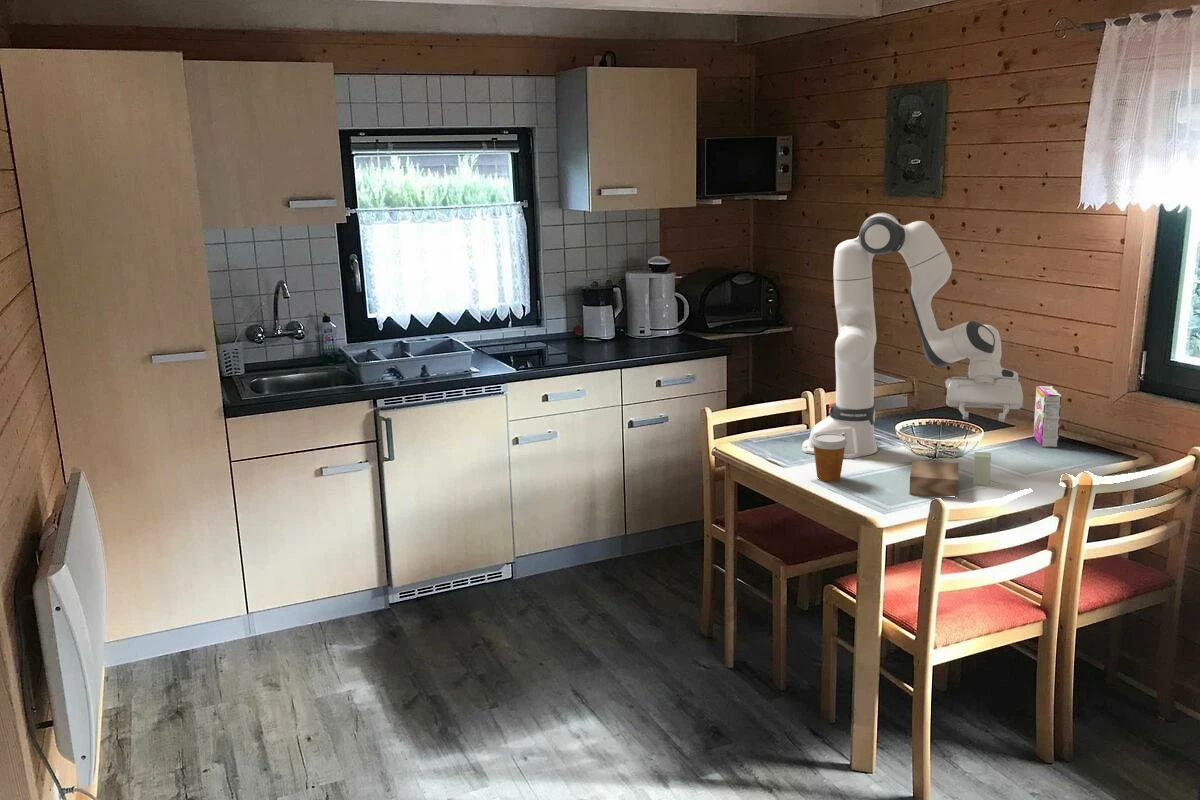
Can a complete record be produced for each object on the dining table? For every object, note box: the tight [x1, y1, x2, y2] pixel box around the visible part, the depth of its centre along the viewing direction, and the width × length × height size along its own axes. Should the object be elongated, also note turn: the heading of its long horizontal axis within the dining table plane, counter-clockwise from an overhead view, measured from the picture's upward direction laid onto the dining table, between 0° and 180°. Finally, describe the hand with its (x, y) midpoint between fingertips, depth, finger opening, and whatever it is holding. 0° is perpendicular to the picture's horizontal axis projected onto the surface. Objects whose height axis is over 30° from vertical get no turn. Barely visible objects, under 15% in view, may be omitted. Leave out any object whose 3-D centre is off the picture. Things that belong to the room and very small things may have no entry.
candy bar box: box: [1032, 385, 1062, 448], centre depth 289 cm, size 11×5×16 cm, turn 168°
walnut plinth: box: [908, 459, 960, 497], centre depth 256 cm, size 12×14×5 cm
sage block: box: [972, 451, 992, 486], centre depth 258 cm, size 4×4×8 cm
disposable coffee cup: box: [812, 433, 847, 482], centre depth 266 cm, size 10×10×12 cm
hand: (983, 419), depth 266 cm, fingers open, 8 cm apart
